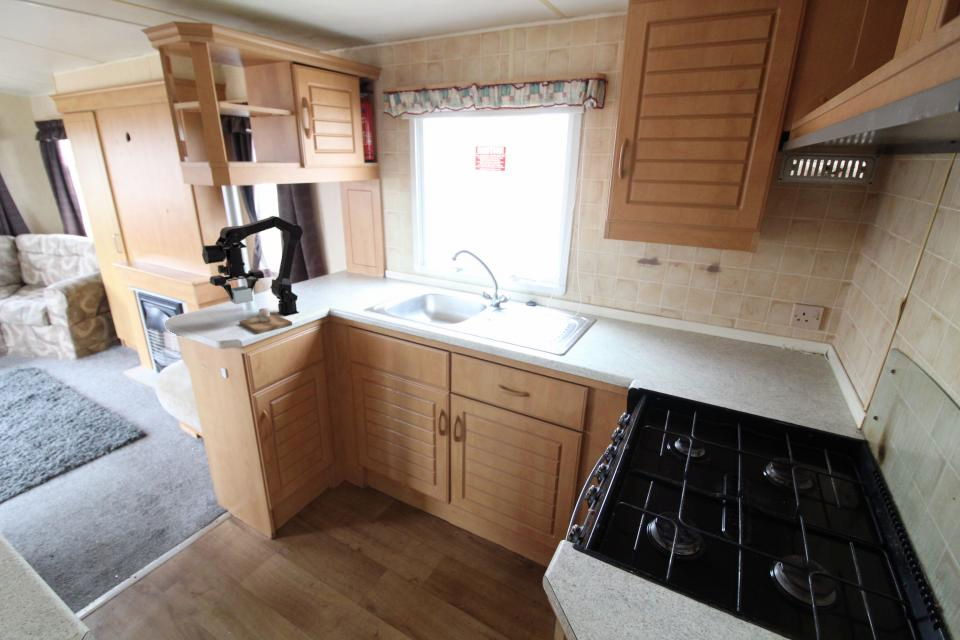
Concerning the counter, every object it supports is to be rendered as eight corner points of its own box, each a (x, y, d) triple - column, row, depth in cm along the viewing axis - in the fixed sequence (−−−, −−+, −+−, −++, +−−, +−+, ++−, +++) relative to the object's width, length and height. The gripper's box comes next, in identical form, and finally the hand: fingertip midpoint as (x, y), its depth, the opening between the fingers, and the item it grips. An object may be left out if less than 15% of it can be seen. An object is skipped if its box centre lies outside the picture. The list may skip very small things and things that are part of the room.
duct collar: (246, 297, 188) (244, 285, 186) (253, 300, 184) (251, 288, 182) (229, 300, 183) (227, 288, 181) (236, 304, 179) (234, 292, 177)
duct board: (273, 316, 195) (271, 302, 193) (292, 325, 185) (290, 310, 183) (239, 324, 185) (237, 309, 183) (258, 334, 175) (255, 318, 173)
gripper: (250, 253, 189) (255, 289, 195) (201, 260, 176) (208, 298, 181) (262, 257, 182) (267, 294, 188) (211, 264, 169) (219, 304, 174)
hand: (241, 297), depth 183 cm, fingers closed on duct collar, 7 cm apart
